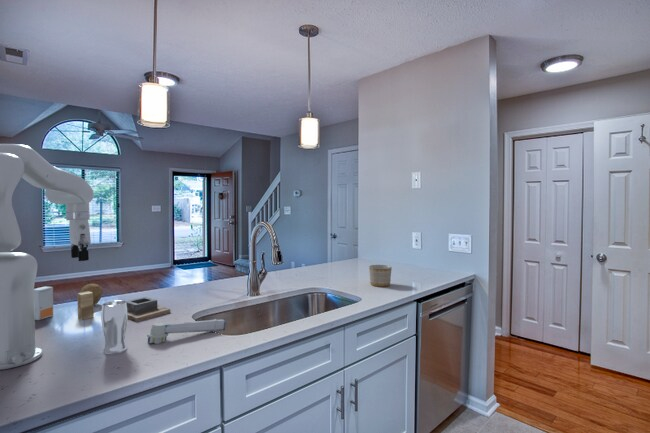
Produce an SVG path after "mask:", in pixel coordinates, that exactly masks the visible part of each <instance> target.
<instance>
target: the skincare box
mask: <svg viewBox="0 0 650 433" xmlns="http://www.w3.org/2000/svg"><path fill="white" fill-rule="evenodd" d="M34 314H35V321H41V320H45V319H47V318H50V317H53V316H54V287H53V286H47V285H45V286H42V287H37V288H34Z"/></svg>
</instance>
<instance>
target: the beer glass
mask: <svg viewBox="0 0 650 433" xmlns="http://www.w3.org/2000/svg"><path fill="white" fill-rule="evenodd" d="M126 301H127V300H123V299H119V300H118V299H117V300H110V301H106V302H103V303H102V304H101V313H100V314H101V315H100V316H101V317H100V320H101V327H102V331H103V335H104V341H105V343H104V349H103V354H104V355H110V356H112V355H118V354H121V353H123V352H125V351H126V350H127V349H128V348H127V343H126V331H127V326H128V320H129V319H128V312H127V302H126Z"/></svg>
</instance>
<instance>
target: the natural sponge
mask: <svg viewBox="0 0 650 433" xmlns="http://www.w3.org/2000/svg"><path fill="white" fill-rule="evenodd" d="M103 290H104V289H103V287H102V286H100V285H99V284H96V283H89V284H86V285H84V286H82V288H81V289H80V292H79V293H82V292H87V291H90V292H92V293H93V307H94V306H96V305H97V304H98V303H99V302H100V301H101V299H102V296H103V292H104V291H103Z"/></svg>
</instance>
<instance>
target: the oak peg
mask: <svg viewBox="0 0 650 433" xmlns="http://www.w3.org/2000/svg"><path fill="white" fill-rule="evenodd" d="M76 298H77V300H76V301H77V318H78V319H79V320H81V321H84V320H88V319H92V318H94V306H93V293H92V292H90V291H87V292H82V293H80V292H78V293H77V295H76Z"/></svg>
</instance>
